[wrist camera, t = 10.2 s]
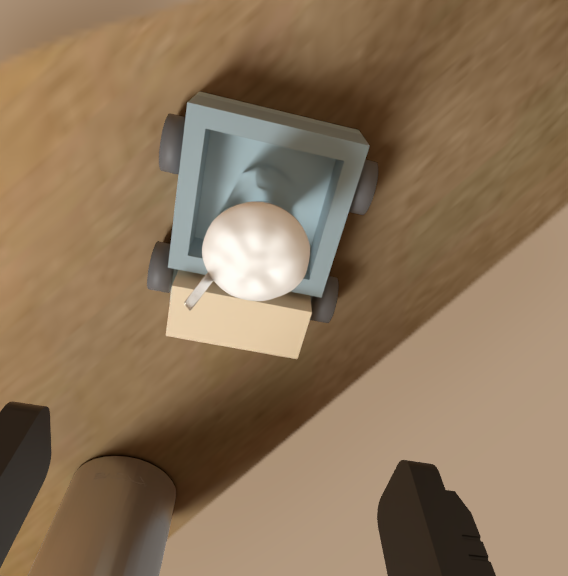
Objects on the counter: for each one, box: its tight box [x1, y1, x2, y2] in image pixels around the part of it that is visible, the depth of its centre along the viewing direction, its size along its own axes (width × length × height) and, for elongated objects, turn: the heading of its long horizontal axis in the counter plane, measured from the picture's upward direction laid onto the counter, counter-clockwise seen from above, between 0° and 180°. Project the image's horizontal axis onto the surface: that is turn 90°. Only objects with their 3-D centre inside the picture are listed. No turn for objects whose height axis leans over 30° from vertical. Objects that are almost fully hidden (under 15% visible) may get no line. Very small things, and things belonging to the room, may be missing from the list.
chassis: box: [147, 91, 378, 359], centre depth 27 cm, size 13×11×5 cm
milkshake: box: [184, 165, 310, 311], centre depth 22 cm, size 5×5×10 cm
